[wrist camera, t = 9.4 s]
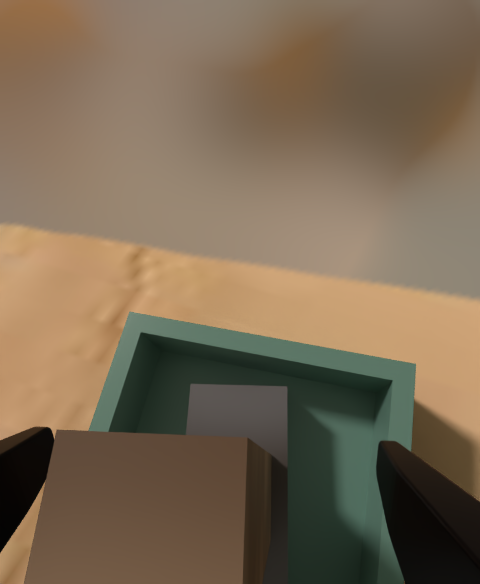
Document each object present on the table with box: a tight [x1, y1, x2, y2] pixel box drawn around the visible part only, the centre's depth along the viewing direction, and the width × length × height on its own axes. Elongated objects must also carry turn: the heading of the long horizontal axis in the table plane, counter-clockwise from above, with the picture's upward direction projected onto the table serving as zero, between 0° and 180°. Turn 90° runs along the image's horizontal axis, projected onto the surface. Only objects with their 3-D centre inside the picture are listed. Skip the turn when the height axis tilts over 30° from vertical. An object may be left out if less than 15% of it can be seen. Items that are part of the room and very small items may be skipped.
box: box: [89, 312, 416, 584], centre depth 16 cm, size 12×12×4 cm
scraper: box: [24, 384, 288, 584], centre depth 11 cm, size 8×4×13 cm, turn 177°
